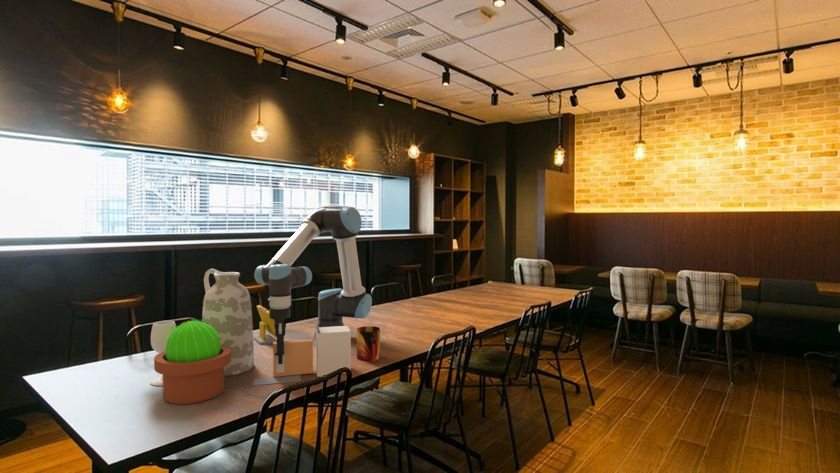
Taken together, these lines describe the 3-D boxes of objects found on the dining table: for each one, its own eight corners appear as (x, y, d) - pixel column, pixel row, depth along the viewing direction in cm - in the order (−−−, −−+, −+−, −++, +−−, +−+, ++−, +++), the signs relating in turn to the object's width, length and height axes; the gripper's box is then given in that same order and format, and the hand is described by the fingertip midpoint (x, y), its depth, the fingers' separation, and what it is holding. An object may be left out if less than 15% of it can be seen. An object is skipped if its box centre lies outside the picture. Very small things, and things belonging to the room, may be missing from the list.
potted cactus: (180, 414, 132) (179, 330, 131) (141, 398, 144) (140, 320, 143) (244, 390, 151) (244, 316, 150) (205, 377, 163) (204, 309, 161)
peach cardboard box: (273, 374, 165) (273, 341, 165) (312, 370, 170) (312, 339, 169) (273, 376, 163) (273, 344, 162) (312, 373, 167) (312, 341, 166)
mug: (373, 365, 178) (373, 335, 178) (351, 357, 187) (352, 328, 187) (391, 359, 185) (391, 330, 185) (369, 352, 195) (369, 325, 194)
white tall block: (316, 368, 173) (316, 326, 172) (347, 366, 176) (347, 324, 176) (317, 376, 164) (317, 331, 164) (350, 373, 168) (350, 329, 167)
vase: (264, 364, 178) (263, 268, 176) (230, 380, 160) (228, 273, 159) (223, 358, 184) (222, 265, 183) (186, 373, 167) (184, 271, 165)
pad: (254, 379, 161) (254, 379, 161) (300, 375, 165) (300, 374, 165) (253, 385, 155) (253, 385, 155) (301, 381, 160) (301, 380, 160)
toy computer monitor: (280, 344, 205) (280, 310, 205) (262, 347, 201) (262, 312, 200) (268, 334, 222) (267, 303, 221) (251, 337, 218) (251, 304, 217)
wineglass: (158, 377, 162) (157, 319, 161) (183, 377, 163) (182, 319, 162) (145, 386, 154) (144, 325, 153) (172, 385, 154) (171, 325, 153)
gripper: (269, 303, 170) (270, 364, 171) (268, 312, 155) (269, 379, 156) (290, 302, 172) (290, 362, 173) (291, 310, 157) (291, 376, 158)
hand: (280, 370), depth 165 cm, fingers closed on peach cardboard box, 3 cm apart
